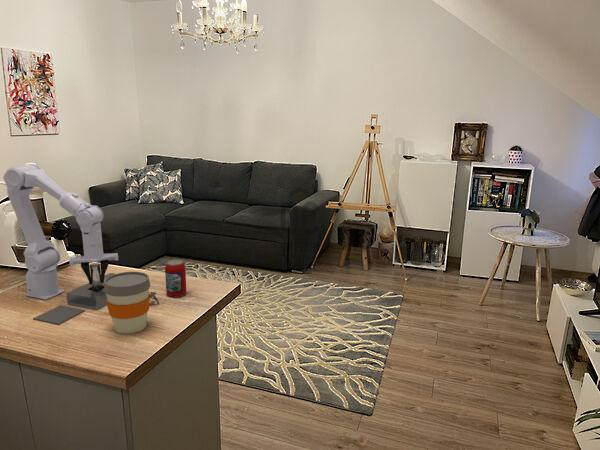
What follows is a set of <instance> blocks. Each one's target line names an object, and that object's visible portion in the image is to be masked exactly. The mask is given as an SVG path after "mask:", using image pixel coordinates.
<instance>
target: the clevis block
mask: <svg viewBox="0 0 600 450" xmlns="http://www.w3.org/2000/svg"><path fill="white" fill-rule="evenodd" d="M114 274H115V273H112V272H110V273H106V274H105V276H104V281H105V279H106V278H107V277H109V276H111V275H114ZM65 295H66V301H67V305H68V306H69V305H70V306H73V307H78V308H79V307H80V308H84V309H89V310H94V311H99V310H101V309H102V308H104V307H106V306H107V303H106V298H107V296H106V293H105V292H104V283H102V290H100V291H92V284H91V285H90V284H89V282H88V283H86V284H85V283H84V284H83V285H81V286H78V287H76V288H75V289H73V290H69V291H68V292H66V294H65Z"/></svg>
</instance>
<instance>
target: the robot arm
mask: <svg viewBox="0 0 600 450" xmlns="http://www.w3.org/2000/svg"><path fill="white" fill-rule="evenodd" d="M2 178H3V180H4V183H5V186H6V189H7V197H8V199H9V202H10V204H11V206H12V209H13V211H14V214H15V216H16V219H17V222H18V224H19V226H20V228H21V231H22V233H23V237H24V239H25V242H26V244H27V246H26V248H25V250H24V251H23V256H24V265H25V268H27V272H26V274H25V283H26V291H27V293H26V294H25V296H26V297H32V298H35V299H36V298H37V299H42V300H49V299H51V298H53V297H56V296H57V295H61V294H62V293H65V292H66V289H63V288H62V289H61V288H60V287H59V281H58V280H59V279H58V272H57V268H58V264H59V262H60V260H61V254H60V252H59V251H58V249H57V248H56V247H55V245H54V243H53V242H52V241H49V240H47V239H46V236H45V233H44V231H43V229H42V227H41V223H40V221H39V219H38V216H37V214H36V210H35V208H34V206H33V203H32V201H31V198H30V194H31V192H32V190H33V189H34V188H39V189H41V190H42V191H44V192H45V193H47V194H48V195H50V196H52V197H53V198H54V199H56V200H58V201H59V206H60V208H63V210H65V211H66V212H68V213H69V214H70V215H72V216H73V217H75V220H76V223H77V224H78V226H79V228H80V231H81V237H82V238H81V239H82V248H83V255H81V256H77V257H70V258H69V259H68V260H69V266H70V267H71V266H74V265H75V266H76V265H80V268H81V270H82V271H83V273H84V274H85V276H86V278H87V280H88V283H89V284H90V285H91V284H92V281H91V271H90V263H91V264H93V263H99V264H100V271H101V282H102V283H104V276H105V275H106V272H107V270H108V267H109V261H119V255H118V253H117V252H115V253H104V248H103V247H104V245H103V238H102V237H103V236H102V235H103V233H102V225H101V222H102V221H104V217H105V215H104V211H103V210H102V209H101V208H100V207H99V206H98V205H92V204H90V203H89V202H86V201H85V200H84V199H82V198H81V197H80V196H79V194H78V193H77V192H72V191H69V192H67V191H65V190H64V188H62V187H61V186H60V185H59V184H58V183H57V182H55V181H54V179H51V178H50V177H49V176H48V175H47V173H46V171H45V170H44V169H42V167H40V166H39V165H37V164H29V165H22V166H15V167H12V166H11V167H9V168H8V169H7V170H6V171H5V173H4V175H3V177H2Z"/></svg>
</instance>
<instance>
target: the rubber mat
mask: <svg viewBox="0 0 600 450" xmlns="http://www.w3.org/2000/svg"><path fill="white" fill-rule="evenodd" d="M84 312H86V310H84V309H81V308H80V309H79V308H77V307H76V308H75V307H70V306H65V305H61V304H60V305H57V306H55V307H54V308H51V309H49V310H47V311H45V312H43V313H41V314H39V315H37V316H35V317H33V318H32V319H33V320H34V321H39V322H43V323H48V324H52V325H57V326H60V325H61V324H64V323H65V322H67V321H70V320H72V319H73V318H76V316H79V315H81V314H83V313H84Z"/></svg>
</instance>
